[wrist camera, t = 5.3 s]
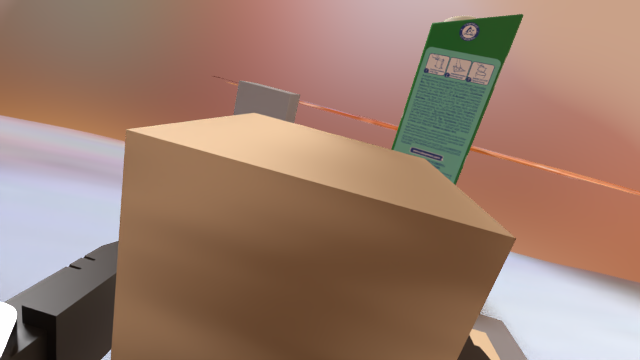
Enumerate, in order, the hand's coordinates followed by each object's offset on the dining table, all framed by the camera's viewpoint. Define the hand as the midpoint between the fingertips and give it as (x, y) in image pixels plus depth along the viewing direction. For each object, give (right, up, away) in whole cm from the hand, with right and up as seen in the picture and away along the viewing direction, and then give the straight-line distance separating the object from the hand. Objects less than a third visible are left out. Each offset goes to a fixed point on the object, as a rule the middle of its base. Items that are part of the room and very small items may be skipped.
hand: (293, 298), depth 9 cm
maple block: (-2, -6, 0) cm, 6 cm away
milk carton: (+14, 0, +36) cm, 39 cm away
